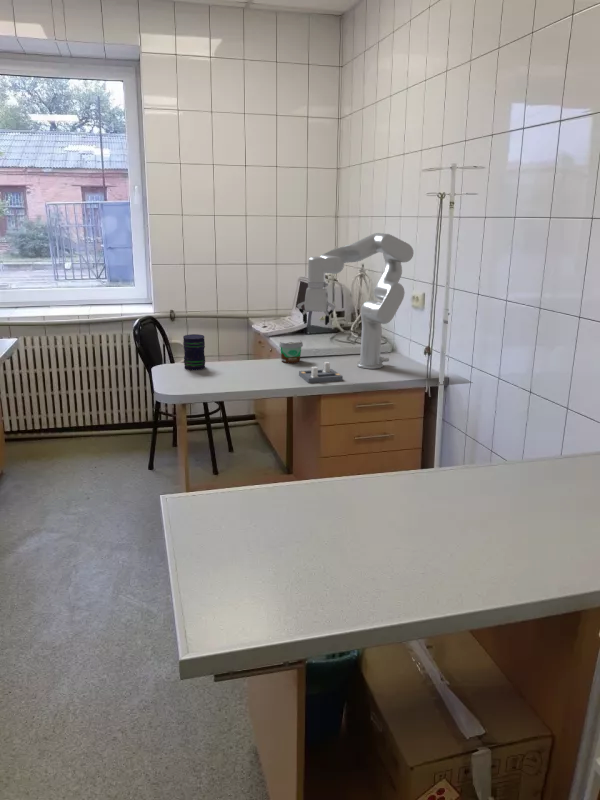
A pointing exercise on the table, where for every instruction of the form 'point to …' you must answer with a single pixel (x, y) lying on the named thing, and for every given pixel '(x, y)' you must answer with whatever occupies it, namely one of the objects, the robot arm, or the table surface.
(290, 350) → the food container
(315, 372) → the tab
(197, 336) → the storage jar
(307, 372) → the switch bank
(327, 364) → the tab
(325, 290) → the robot arm
